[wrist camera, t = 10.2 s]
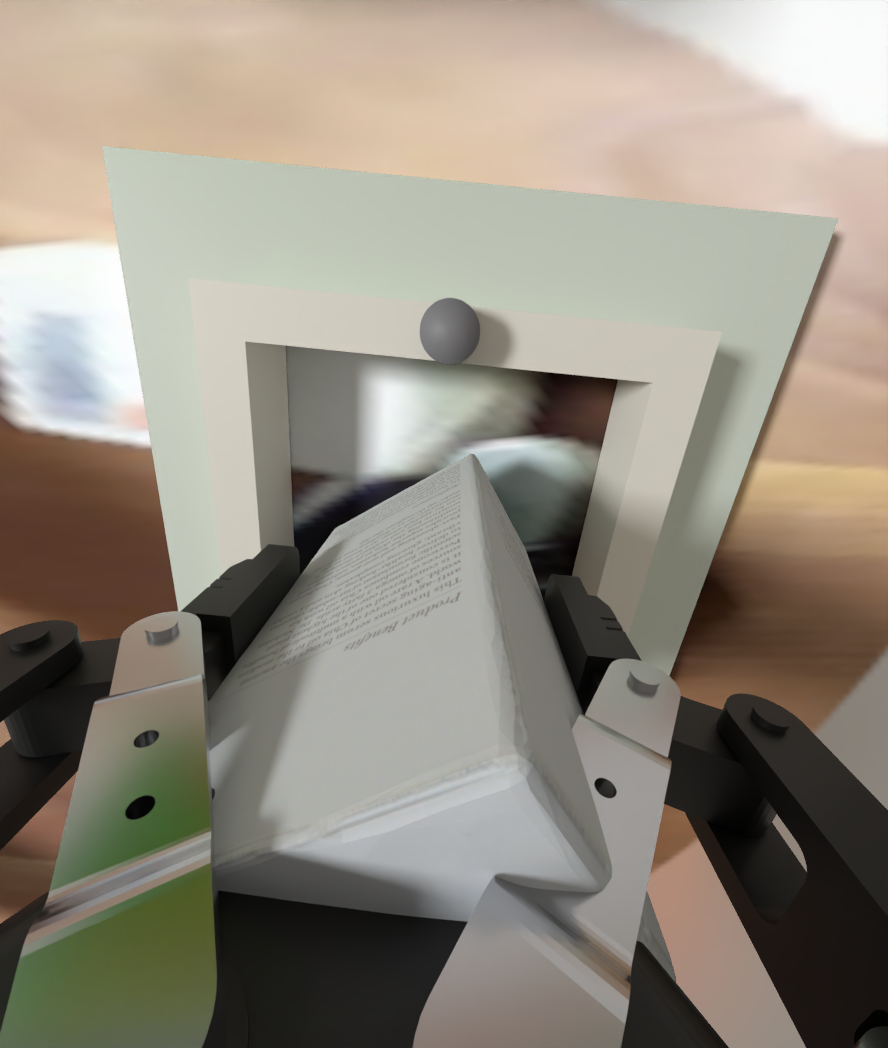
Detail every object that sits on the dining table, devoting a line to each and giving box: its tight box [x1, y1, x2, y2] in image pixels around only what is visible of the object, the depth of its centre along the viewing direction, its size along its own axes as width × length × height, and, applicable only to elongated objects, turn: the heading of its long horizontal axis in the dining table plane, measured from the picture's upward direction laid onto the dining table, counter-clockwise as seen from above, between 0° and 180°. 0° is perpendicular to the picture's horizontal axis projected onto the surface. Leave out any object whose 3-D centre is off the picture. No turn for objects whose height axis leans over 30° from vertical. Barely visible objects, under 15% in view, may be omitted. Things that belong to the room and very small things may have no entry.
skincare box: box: [208, 454, 676, 982], centre depth 10 cm, size 6×4×12 cm
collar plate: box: [102, 146, 838, 676], centre depth 15 cm, size 22×22×4 cm
